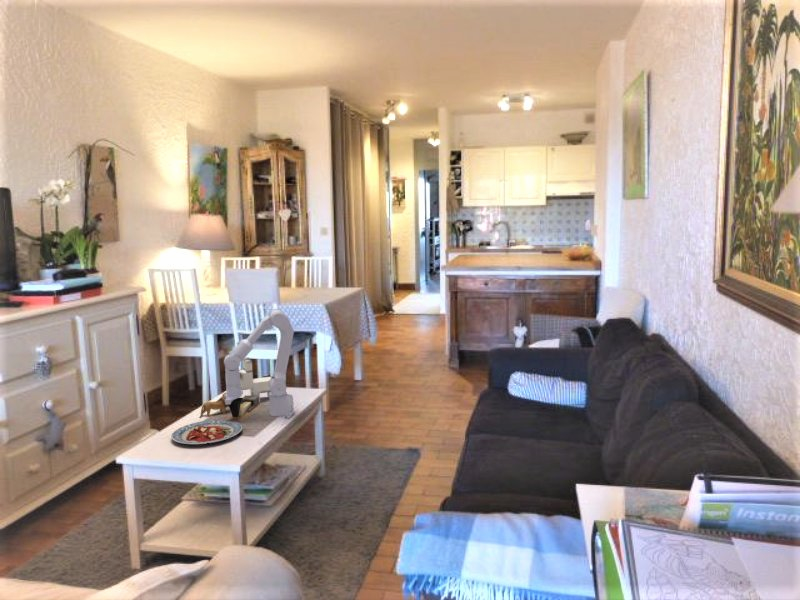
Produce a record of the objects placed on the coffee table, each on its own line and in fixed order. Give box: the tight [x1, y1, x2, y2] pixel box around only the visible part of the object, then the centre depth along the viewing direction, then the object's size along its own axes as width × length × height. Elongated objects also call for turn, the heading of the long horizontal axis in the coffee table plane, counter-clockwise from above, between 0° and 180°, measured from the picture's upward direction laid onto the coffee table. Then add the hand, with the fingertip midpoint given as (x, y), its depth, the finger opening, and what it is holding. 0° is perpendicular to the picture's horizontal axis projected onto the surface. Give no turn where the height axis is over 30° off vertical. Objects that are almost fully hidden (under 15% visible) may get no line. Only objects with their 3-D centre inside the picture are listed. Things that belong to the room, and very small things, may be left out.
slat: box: [239, 402, 252, 416], centre depth 261 cm, size 3×12×2 cm, turn 174°
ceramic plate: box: [170, 419, 243, 445], centre depth 235 cm, size 26×26×3 cm
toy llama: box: [239, 357, 272, 404], centre depth 276 cm, size 8×18×20 cm, turn 115°
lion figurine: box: [198, 391, 229, 419], centre depth 258 cm, size 15×5×9 cm, turn 131°
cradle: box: [223, 395, 263, 422], centre depth 261 cm, size 9×22×4 cm, turn 174°
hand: (235, 416), depth 252 cm, fingers closed
